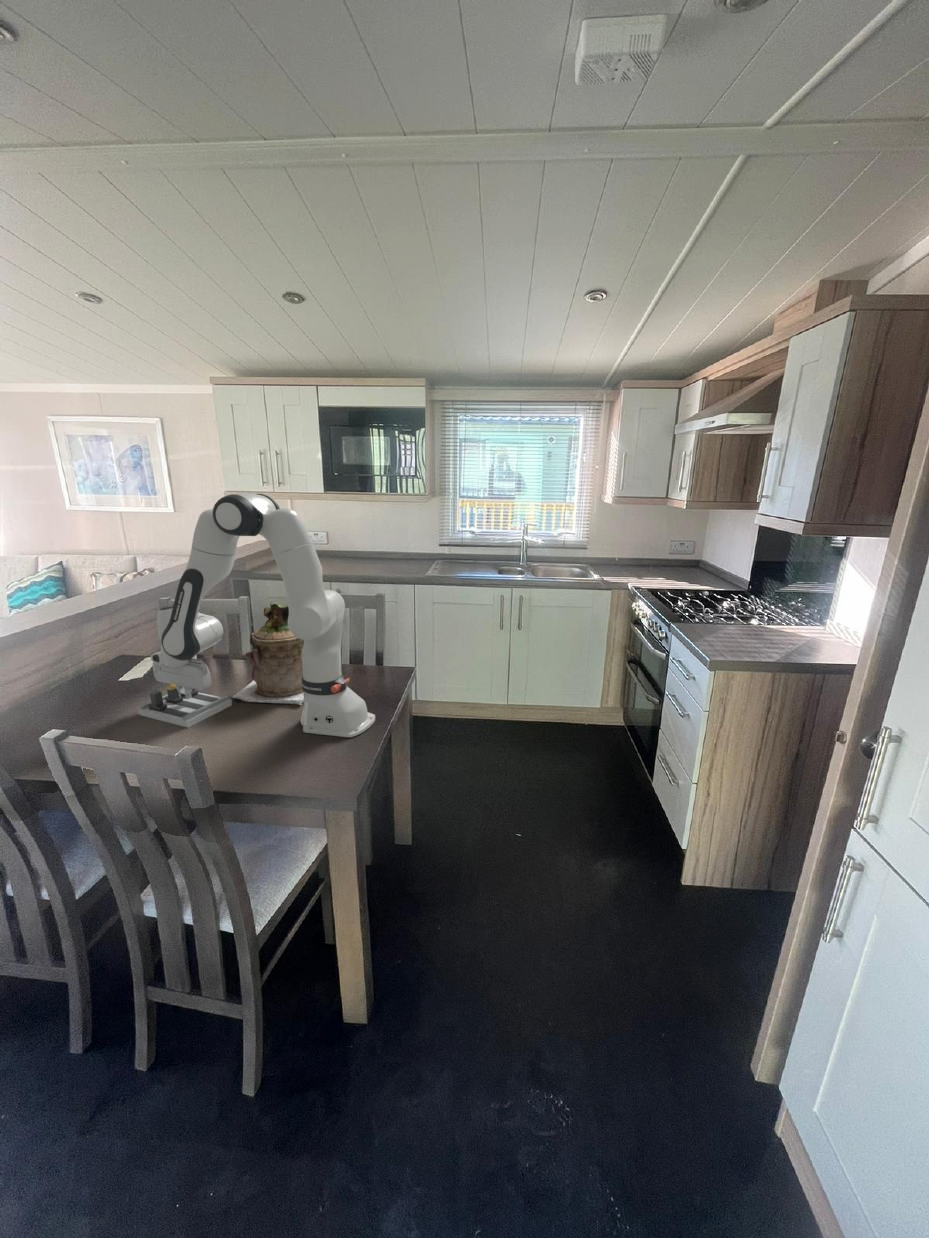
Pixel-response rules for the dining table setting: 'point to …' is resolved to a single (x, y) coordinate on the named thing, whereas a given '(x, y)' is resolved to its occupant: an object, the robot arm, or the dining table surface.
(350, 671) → the dining table surface
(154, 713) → the panel
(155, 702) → the breaker left
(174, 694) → the breaker middle
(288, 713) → the dining table surface
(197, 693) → the breaker right
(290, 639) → the cookie jar
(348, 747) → the dining table surface
